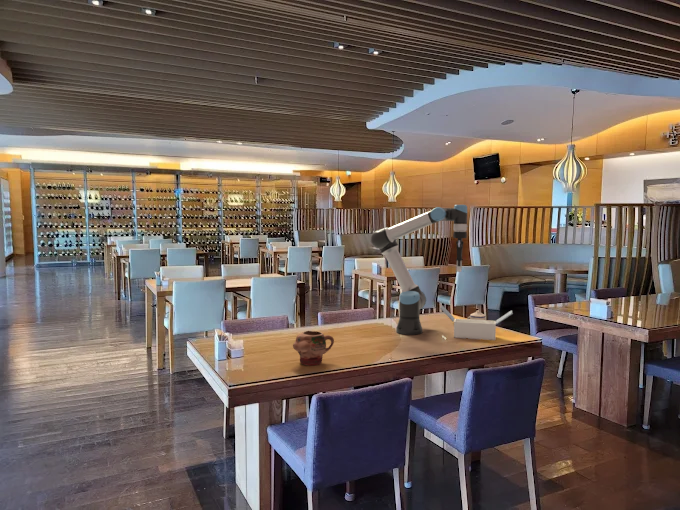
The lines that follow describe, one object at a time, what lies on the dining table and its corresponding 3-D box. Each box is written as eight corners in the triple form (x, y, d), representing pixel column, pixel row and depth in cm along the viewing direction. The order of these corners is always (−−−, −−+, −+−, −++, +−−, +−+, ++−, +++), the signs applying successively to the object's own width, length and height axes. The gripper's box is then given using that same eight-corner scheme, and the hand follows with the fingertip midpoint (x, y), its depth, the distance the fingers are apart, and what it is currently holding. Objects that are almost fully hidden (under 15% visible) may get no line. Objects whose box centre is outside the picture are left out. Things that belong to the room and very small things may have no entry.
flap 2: (495, 320, 268) (496, 321, 268) (496, 323, 260) (496, 324, 259) (511, 310, 265) (512, 310, 265) (512, 313, 257) (512, 313, 257)
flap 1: (453, 321, 266) (453, 321, 266) (454, 318, 275) (454, 318, 275) (440, 307, 268) (440, 308, 268) (442, 305, 276) (441, 305, 276)
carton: (453, 337, 267) (454, 321, 266) (455, 334, 275) (455, 318, 275) (495, 340, 260) (495, 324, 260) (495, 336, 269) (495, 320, 268)
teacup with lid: (488, 330, 285) (489, 310, 284) (479, 332, 280) (479, 312, 279) (472, 326, 295) (472, 308, 294) (462, 328, 289) (462, 309, 289)
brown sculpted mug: (326, 356, 230) (326, 327, 230) (339, 362, 220) (339, 332, 219) (288, 362, 220) (288, 332, 219) (300, 369, 210) (300, 337, 209)
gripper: (466, 231, 272) (464, 273, 274) (467, 231, 284) (466, 270, 286) (452, 231, 274) (451, 272, 276) (454, 231, 287) (453, 270, 288)
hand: (459, 271), depth 281 cm, fingers closed
